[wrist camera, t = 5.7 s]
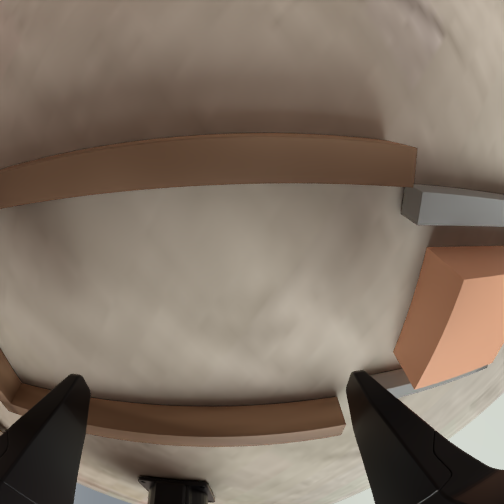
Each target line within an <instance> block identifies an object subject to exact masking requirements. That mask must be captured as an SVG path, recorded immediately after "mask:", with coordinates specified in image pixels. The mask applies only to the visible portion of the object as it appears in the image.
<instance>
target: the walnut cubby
mask: <svg viewBox="0 0 504 504" xmlns="http://www.w3.org/2000/svg"><path fill="white" fill-rule="evenodd" d="M416 158H417V148H415V147H411V146H407V145H403V144H399V143H395V142H391V141H386V140H378V139H369V138H359V137H348V136H335V135H319V134H295V133H233V134H209V135H193V136H180V137H168V138H158V139H149V140H141V141H133V142H125V143H118V144H112V145H106V146H99V147H94V148H88V149H83V150H77V151H72V152H67V153H63V154H58V155H54V156H49V157H45V158H41V159H37V160H33V161H29V162H25V163H21V164H18V165H14V166H10V167H7V168H4V169H0V209H2V208H7V207H13V206H18V205H24V204H30V203H36V202H43V201H49V200H56V199H63V198H70V197H78V196H86V195H94V194H103V193H112V192H122V191H132V190H143V189H155V188H169V187H184V186H202V185H224V184H260V183H322V184H357V185H379V186H397V187H411V188H413V186H414V177H415V168H416ZM50 391H51V390H48V389H44V388H40V387H36V386H32V385H28V384H24V383H21V381H20V380H19V378H18V377H17V375H16V374H15V372H14V370H13V369H12V367H11V366H10V364H9V362H8V361H7V359H6V358H5V356H4V354H3V352H2V351H1V349H0V401H1V402H2V403H3V405H4V406H5V407H6V408H7V410H8V411H10V412H13V413H16V414H19V415H22V416H23V415H24V414H25V413H26V412H27V411H29V410H30V409H31V408H32V407H33V406H34V405H35V404H36V403H38V402H39V401H40V400H41V399H42V398H43V397H44V396H46V395H47V394H48V393H49V392H50ZM345 425H346V423H345V420H344V417H343V414H342V411H341V407H340V404H339V401H338V398H337V397H330V398H323V399H316V400H308V401H300V402H290V403H280V404H267V405H251V406H221V407H197V406H167V405H151V404H139V403H129V402H120V401H111V400H104V399H97V398H90V404H89V412H88V420H87V428H86V433H87V434H92V435H97V436H102V437H108V438H114V439H120V440H127V441H134V442H142V443H152V444H162V445H176V446H198V447H235V446H257V445H271V444H282V443H291V442H300V441H307V440H314V439H321V438H327V437H332V436H338V435H341V434H342V432H343V430H344V428H345Z"/></svg>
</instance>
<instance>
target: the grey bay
mask: <svg viewBox="0 0 504 504" xmlns="http://www.w3.org/2000/svg"><path fill="white" fill-rule="evenodd" d="M401 214H402V215H403V216H405V217H406V218H408V219H409V220H411V221H412V222H413V223H415V224H416V225H446V226H497V227H504V194H497V193H490V192H483V191H476V190H468V189H460V188H451V187H442V186H432V185H421V184H414V186H413V188H411V187H405V189H404V197H403V204H402V211H401ZM487 366H488V365H486V366H483V367H481V368H478V369H476V370H473V371H470V372H468V373H465V374H462V375H459V376H457V377H454V378H451V379H448V380H445V381H442V382H439V383H436V384H432V385H429V386H426V387H422V388H419V389H415V390H414V388H413V387H412V385H411V383H410V381H409V379H408V377H407V376H406V374H405V372H404V370H403V368H402V369H398V370H393V371H389V372H384V373H379V374H374V375H370V376H371V377H373V378H374V379H375V380H376V381H377V382H379V383H380V384H381V385H382V386H383V387H384V388H386V389H387V390H388V391H389V392H390V393H392V394H393V395H394V396H395V397H396V398H400V397H403V396H407V395H411V394H414V393H418V392H421V391H424V390H427V389H431V388H434V387H437V386H440V385H443V384H446V383H449V382H452V381H454V380H457V379H460V378H462V377H465V376H468V375H470V374H473V373H475V372H478V371H480V370H483V369H485V368H487Z"/></svg>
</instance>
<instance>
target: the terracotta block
mask: <svg viewBox="0 0 504 504" xmlns="http://www.w3.org/2000/svg"><path fill="white" fill-rule="evenodd" d="M503 343H504V246H462V247H427V249H426V253H425V257H424V261H423V264H422V268H421V272H420V275H419V279H418V282H417V286H416V289H415V292H414V296H413V299H412V302H411V305H410V308H409V311H408V314H407V317H406V320H405V323H404V325H403V328H402V331H401V334H400V336H399V339H398V341H397V344H396V347H395V349H394V352H393V353H394V354H395V356H396V358H397V360H398V361H399V363H400V365H401V367H402V368H403V370H404V372H405V374H406V376H407V377H408V379H409V381H410V383H411V385H412V387H413V388H414V390H415V389H419V388H422V387H426V386H429V385H432V384H436V383H439V382H442V381H445V380H448V379H451V378H454V377H457V376H459V375H462V374H465V373H468V372H470V371H473V370H476V369H478V368H481V367H483V366H486V365H488V364H490V363H492V362H493V360H494V359H495V357H496V355H497V354H498V352H499V350H500V348H501V347H502V345H503Z"/></svg>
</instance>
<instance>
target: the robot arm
mask: <svg viewBox="0 0 504 504" xmlns="http://www.w3.org/2000/svg"><path fill="white" fill-rule="evenodd" d="M346 394H347V399H348V404H349V409H350V415H351V420H352V425H353V430H354V434H355V437H356V441H357V444H358V447H359V450H360V453H361V457H362V460H363V463H364V467H365V470H366V473H367V477H368V480H369V483H370V487H371V490H372V493H373V497H374V501H375V504H504V470H499V469H495V468H492V467H489V466H487V465H485V464H484V463H481V462H480V461H479V460H477V459H475V458H474V457H472V456H471V455H469V454H467V453H466V452H464V451H462V450H461V449H460V448H458V447H456V446H455V445H454V444H452V443H451V442H450V441H448V440H447V439H446V438H445V437H443V436H442V435H441V434H440V433H438V432H437V431H434V429H433V428H432V427H431V426H430V425H429V424H427V423H426V422H425V421H424V420H423V419H421V418H420V417H419V416H418V415H417V414H415V413H414V412H413V411H412V410H411V409H409V408H408V407H407V406H406V405H405V404H403V403H402V402H401V401H400V400H399V399H397V398H396V397H395V396H394V395H393V394H392V393H390V392H389V391H388V390H387V389H386V388H384V387H383V386H382V385H381V384H380V383H379V382H377V381H376V380H375V379H374V378H373V377H371V376H370V375H369V374H368V373H367V372H366V371H364V370H359V371H354V372H352V373H351V375H350V378H349V381H348V384H347V387H346ZM90 397H91V392H90V389H89V387H88V385H87V384H86V382H85V380H84V378H83V377H82V376H81V375H78V374H70V375H69V376H67V377H66V378H65V379H64V380H63V381H62V382H60V383H59V384H58V385H57V386H56V387H55V388H54V389H52V390H51V391H50V392H49V393H48V394H47V395H46V396H44V397H43V398H42V399H41V400H40V401H39V402H38V403H36V404H35V405H34V406H33V407H32V408H31V409H30V410H29V411H27V412H26V413H25V414H24V415H23V416H22V417H21V418H20V419H18V420H17V421H16V422H15V423H14V424H13V425H12V426H11V427H10V428H9V429H8V430H6V431H5V432H4V433H3V434H2V435H1V436H0V504H73V503H74V495H75V489H76V482H77V476H78V470H79V464H80V459H81V454H82V449H83V444H84V439H85V434H86V428H87V420H88V412H89V404H90ZM138 482H139V483H140V484H141V485H142V486H143V487H144V488H145V489H146V490H147V491H149V496H148V504H208V502H215V497H214V495H213V493H212V491H211V489H210V487H209V485H208V483H206V482H191V481H176V480H165V479H156V478H148V477H138Z"/></svg>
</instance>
